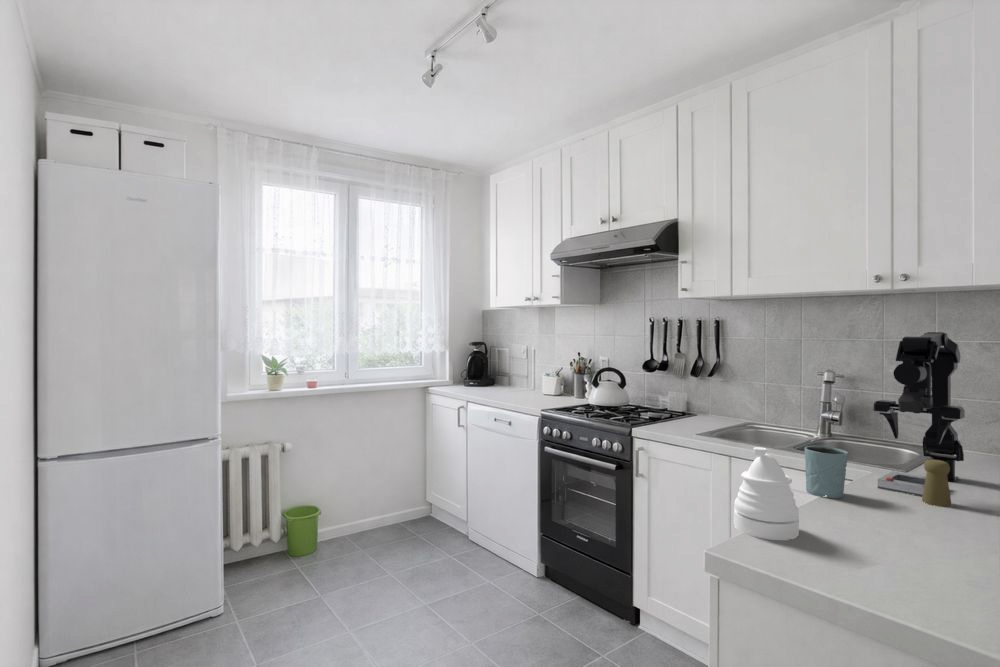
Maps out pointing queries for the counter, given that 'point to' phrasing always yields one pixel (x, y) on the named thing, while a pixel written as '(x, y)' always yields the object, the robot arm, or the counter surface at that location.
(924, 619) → the counter surface
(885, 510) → the counter surface
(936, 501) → the cork
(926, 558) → the counter surface
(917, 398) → the robot arm
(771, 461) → the honey pot
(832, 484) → the teal cup
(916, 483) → the socket plate
